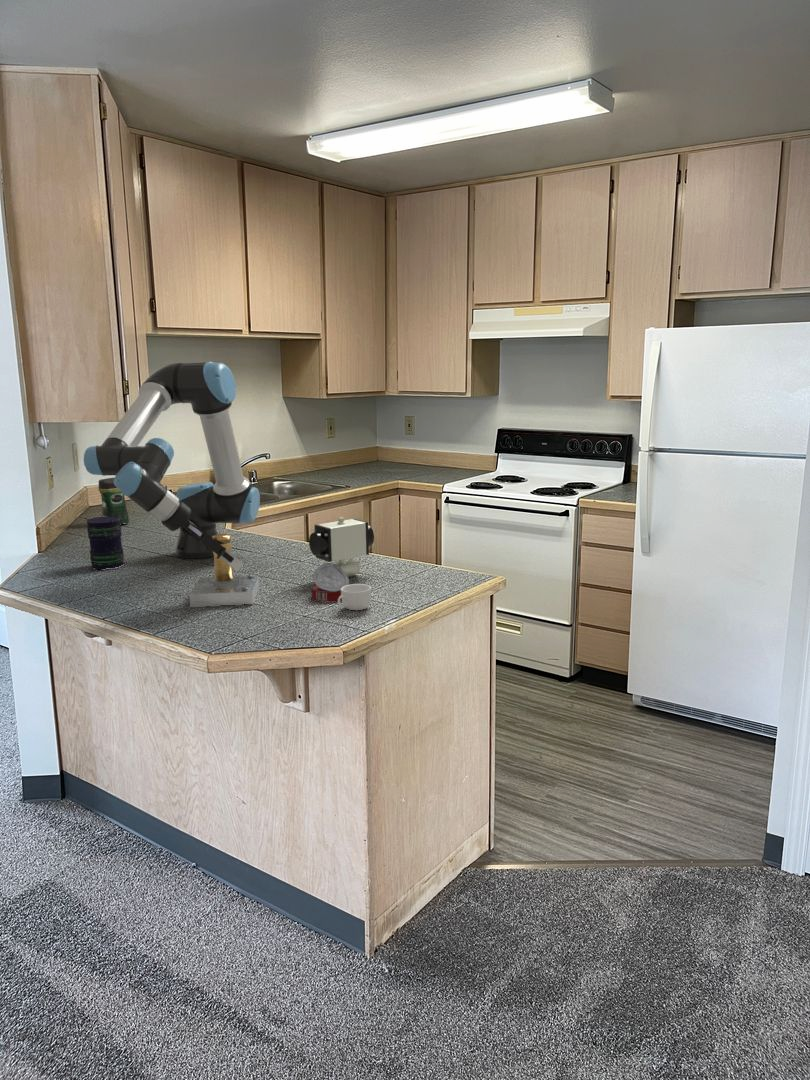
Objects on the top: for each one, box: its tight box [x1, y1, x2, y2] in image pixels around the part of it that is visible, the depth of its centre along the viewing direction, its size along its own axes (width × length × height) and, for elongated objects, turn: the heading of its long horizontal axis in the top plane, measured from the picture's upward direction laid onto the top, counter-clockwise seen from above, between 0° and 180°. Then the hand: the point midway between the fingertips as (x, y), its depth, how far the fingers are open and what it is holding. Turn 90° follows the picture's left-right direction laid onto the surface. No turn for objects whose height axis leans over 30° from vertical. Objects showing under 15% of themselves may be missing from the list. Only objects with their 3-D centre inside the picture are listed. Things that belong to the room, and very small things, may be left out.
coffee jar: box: [98, 477, 130, 524], centre depth 312 cm, size 10×8×19 cm
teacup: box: [337, 583, 372, 611], centre depth 202 cm, size 10×8×5 cm
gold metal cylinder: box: [212, 533, 234, 582], centre depth 212 cm, size 5×5×12 cm
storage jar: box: [86, 516, 125, 569], centre depth 248 cm, size 10×10×15 cm
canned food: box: [311, 562, 350, 602], centre depth 213 cm, size 11×10×10 cm
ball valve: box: [308, 517, 375, 578], centre depth 230 cm, size 18×8×18 cm, turn 127°
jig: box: [188, 574, 260, 608], centre depth 214 cm, size 16×16×4 cm
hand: (237, 565), depth 214 cm, fingers closed on gold metal cylinder, 4 cm apart
